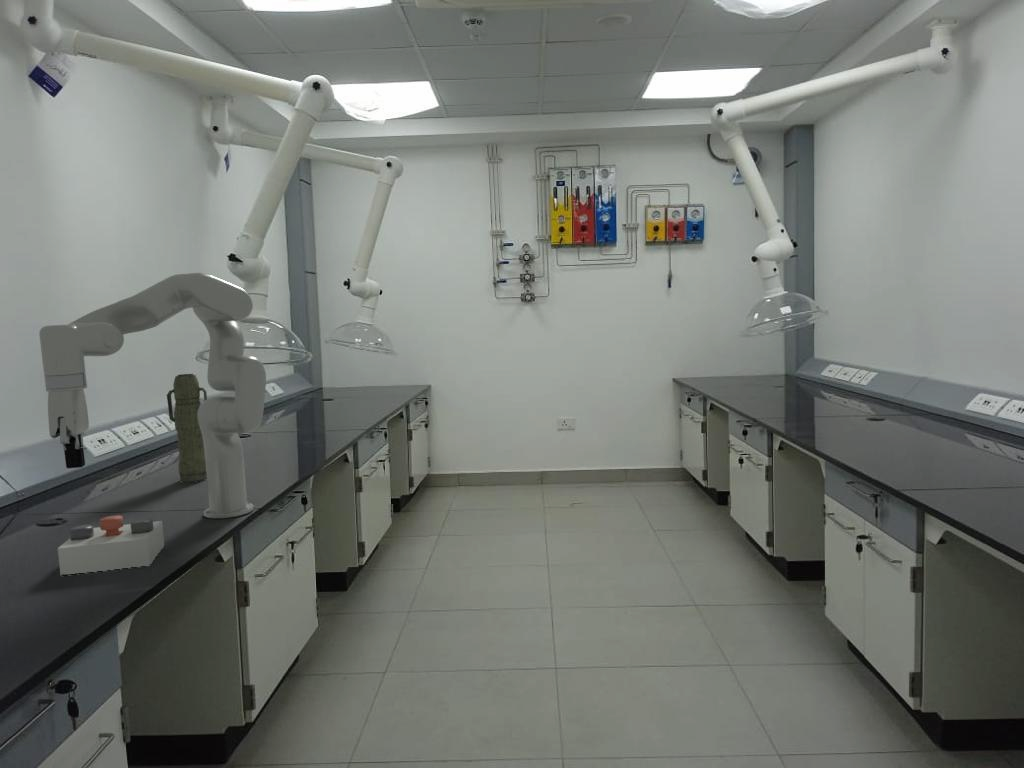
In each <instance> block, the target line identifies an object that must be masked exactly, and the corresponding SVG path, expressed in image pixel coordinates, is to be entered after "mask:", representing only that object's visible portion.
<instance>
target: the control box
mask: <svg viewBox="0 0 1024 768" xmlns="http://www.w3.org/2000/svg"><path fill="white" fill-rule="evenodd" d="M153 528H154V529H153V530H152V531H149V532H146V533H139V534H134V533H131V523H129V524H128V523H127V524H123V527H121V528H119V535H118V536H108V537H107V535H106V530H101V528H100V526H97V527H93V530H94V536H92V537H90V538H89V539H82V540H71V538H70V537H69V538H68V539H67V540H66V541H65V542H64V543H62V544H61V545H60V546H58V547H57V555H58V556H57V557H58V564H59V573H60V574H59V575H60V576H61V575H62V574H75V573H85V574H87V573H86V572H94V573H98V572H97V571H103V572H108V571H107V570H111V571H115V570H114V569H120V570H123V569H122V568H128V569H132V568H131V567H137V568H142V567H141V566H146V567H150V566H151V565H152V563H154V561H155V559H156V558H157V557H156V556H158V555H159V554H160V553H161V551H162V550H163V548H164V547H165V540H164V539H165V538H164V528H163V520H157V521H153ZM163 546H164V547H163ZM161 549H162V550H161ZM158 553H159V554H158ZM155 557H156V558H155ZM153 560H154V561H153ZM150 564H151V565H150Z"/></svg>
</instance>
